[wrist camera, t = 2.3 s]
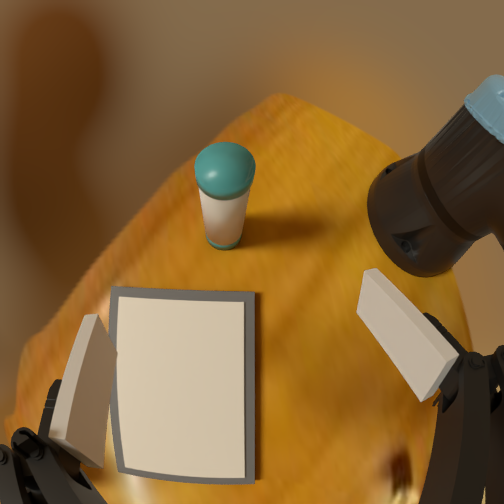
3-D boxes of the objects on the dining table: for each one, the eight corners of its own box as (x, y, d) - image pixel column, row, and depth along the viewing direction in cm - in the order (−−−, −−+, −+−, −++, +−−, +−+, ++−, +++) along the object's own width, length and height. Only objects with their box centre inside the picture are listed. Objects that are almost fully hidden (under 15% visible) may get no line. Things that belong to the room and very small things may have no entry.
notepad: (253, 293, 27) (254, 291, 26) (253, 480, 21) (255, 484, 20) (114, 287, 25) (110, 285, 24) (120, 469, 19) (117, 472, 18)
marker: (242, 216, 29) (255, 143, 17) (242, 251, 28) (255, 192, 16) (206, 215, 28) (197, 141, 17) (204, 250, 27) (191, 190, 16)
